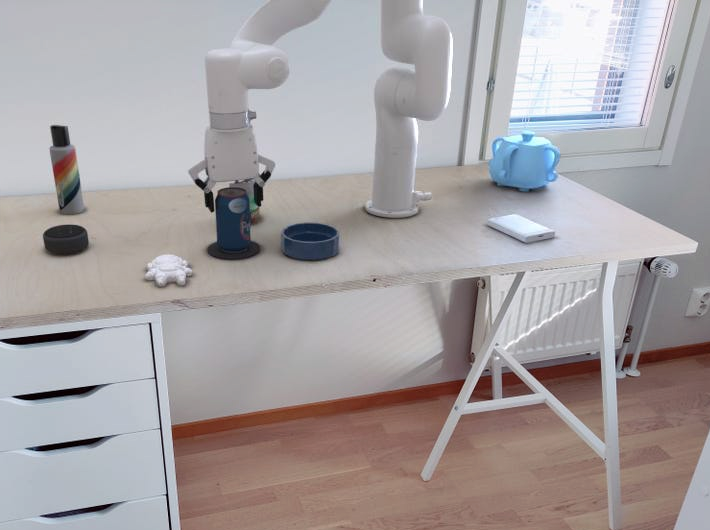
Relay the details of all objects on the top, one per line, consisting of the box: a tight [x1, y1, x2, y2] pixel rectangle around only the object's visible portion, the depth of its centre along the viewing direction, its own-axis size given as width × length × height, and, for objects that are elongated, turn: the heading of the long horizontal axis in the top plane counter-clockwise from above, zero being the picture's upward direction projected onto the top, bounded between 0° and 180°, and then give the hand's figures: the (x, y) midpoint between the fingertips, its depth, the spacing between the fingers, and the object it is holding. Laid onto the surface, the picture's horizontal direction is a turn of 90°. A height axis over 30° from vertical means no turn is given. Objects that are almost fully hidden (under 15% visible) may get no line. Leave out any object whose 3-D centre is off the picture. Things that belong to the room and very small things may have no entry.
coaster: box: [206, 240, 261, 261], centre depth 147 cm, size 11×11×1 cm
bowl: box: [280, 221, 340, 261], centre depth 146 cm, size 12×12×4 cm
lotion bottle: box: [49, 124, 85, 215], centre depth 164 cm, size 6×6×20 cm
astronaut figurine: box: [144, 254, 193, 288], centre depth 136 cm, size 9×12×3 cm
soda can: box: [214, 186, 252, 253], centre depth 144 cm, size 7×7×12 cm
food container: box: [228, 173, 261, 226], centre depth 161 cm, size 12×6×10 cm, turn 168°
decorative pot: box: [488, 130, 561, 192], centre depth 184 cm, size 16×16×14 cm
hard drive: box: [486, 213, 556, 244], centre depth 157 cm, size 2×8×12 cm
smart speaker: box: [42, 223, 90, 256], centre depth 147 cm, size 9×9×4 cm
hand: (234, 207), depth 143 cm, fingers open, 9 cm apart
